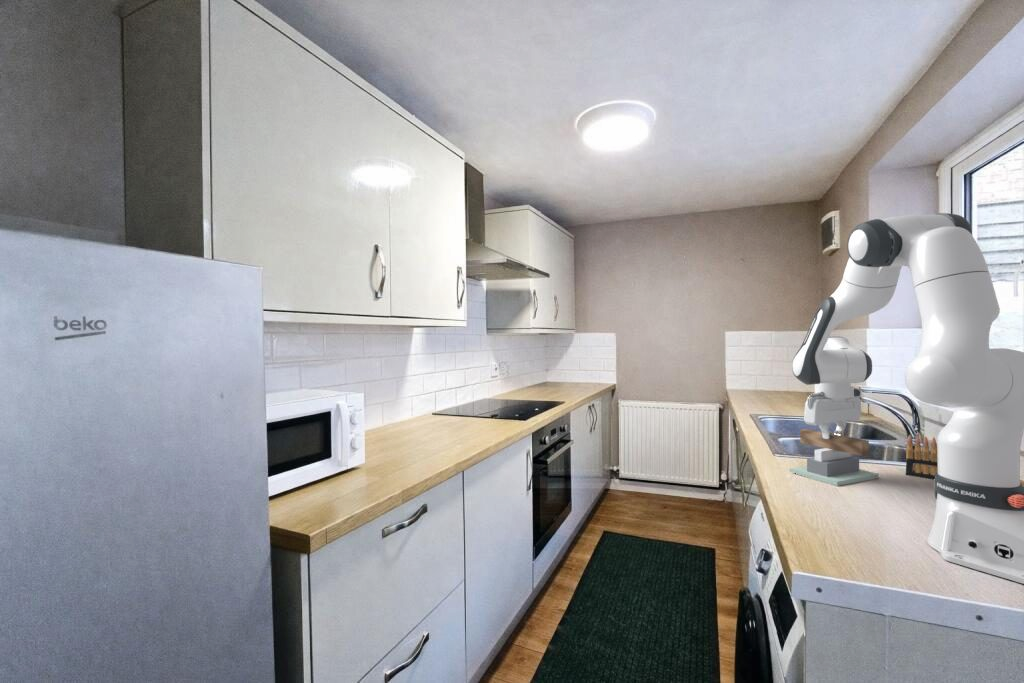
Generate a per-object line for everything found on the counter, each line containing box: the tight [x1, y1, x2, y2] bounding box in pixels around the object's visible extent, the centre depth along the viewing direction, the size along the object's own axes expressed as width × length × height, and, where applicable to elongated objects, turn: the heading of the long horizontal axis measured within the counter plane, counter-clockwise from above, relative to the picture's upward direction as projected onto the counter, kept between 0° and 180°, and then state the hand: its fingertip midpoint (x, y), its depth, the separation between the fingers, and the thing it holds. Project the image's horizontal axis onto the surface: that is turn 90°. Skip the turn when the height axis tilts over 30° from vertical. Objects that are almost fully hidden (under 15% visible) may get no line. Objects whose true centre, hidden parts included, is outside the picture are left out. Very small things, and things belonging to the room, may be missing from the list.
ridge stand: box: [789, 448, 879, 487], centre depth 136 cm, size 14×18×8 cm
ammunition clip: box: [905, 434, 938, 480], centre depth 132 cm, size 11×2×12 cm, turn 45°
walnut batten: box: [799, 428, 870, 457], centre depth 136 cm, size 18×3×4 cm, turn 21°
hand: (832, 437), depth 136 cm, fingers open, 4 cm apart
